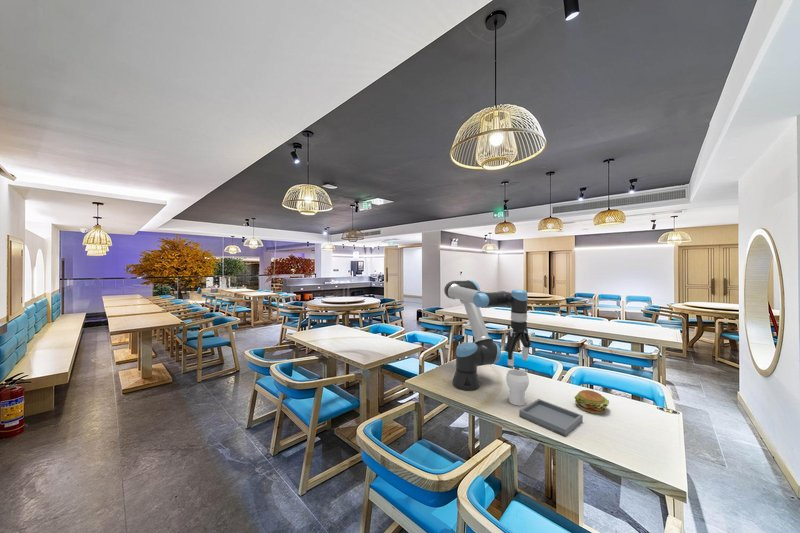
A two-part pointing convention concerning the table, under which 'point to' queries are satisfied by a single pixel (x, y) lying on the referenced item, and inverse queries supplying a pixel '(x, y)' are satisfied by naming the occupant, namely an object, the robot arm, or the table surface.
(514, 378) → the cup
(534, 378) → the table surface
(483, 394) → the table surface
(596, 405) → the food
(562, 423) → the tray
